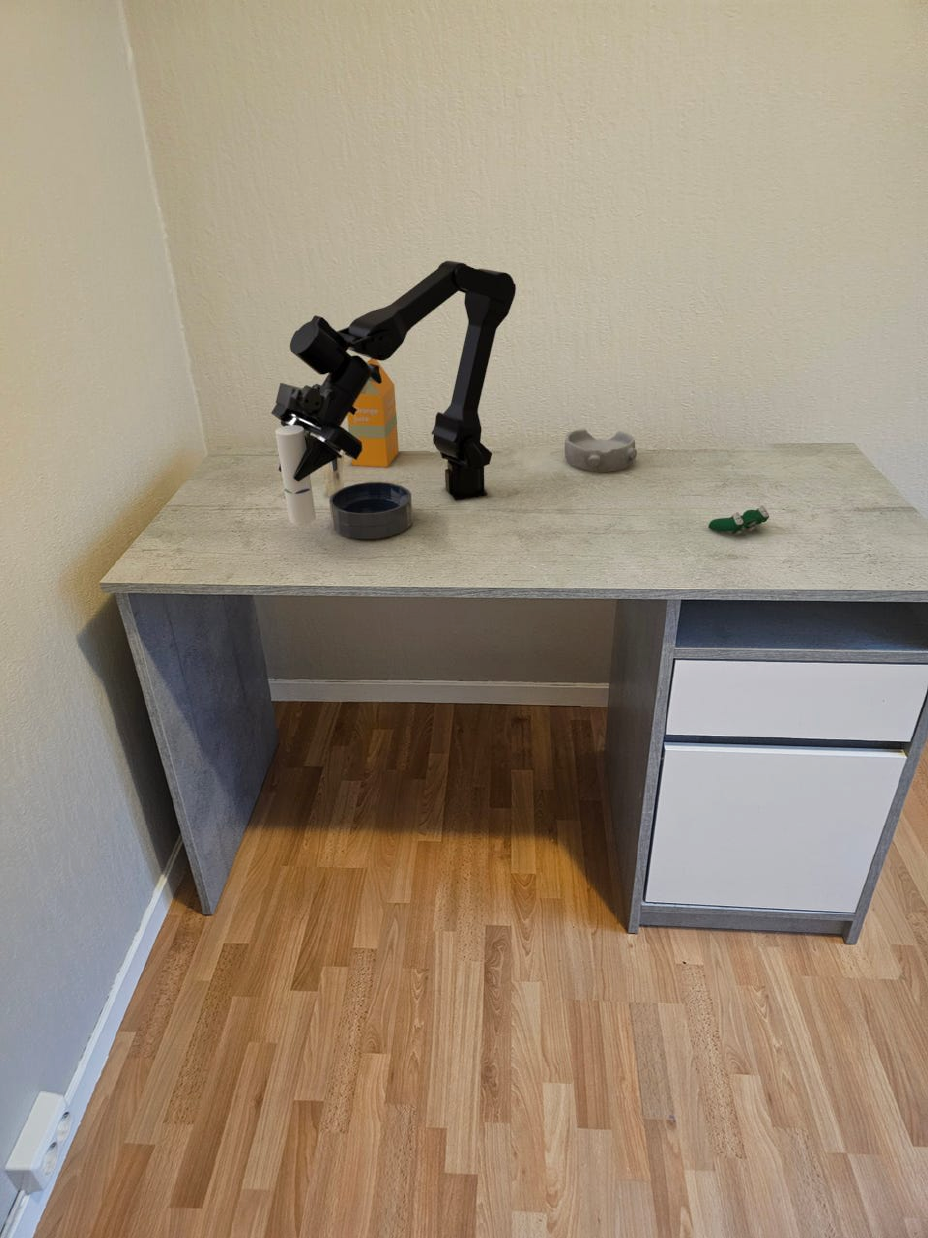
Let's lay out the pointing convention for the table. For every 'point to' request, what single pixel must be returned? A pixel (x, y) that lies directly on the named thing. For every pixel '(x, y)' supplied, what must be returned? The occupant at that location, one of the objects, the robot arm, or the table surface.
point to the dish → (599, 451)
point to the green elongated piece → (740, 521)
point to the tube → (290, 457)
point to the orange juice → (375, 422)
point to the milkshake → (334, 475)
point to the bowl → (371, 510)
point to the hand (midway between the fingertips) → (288, 475)
